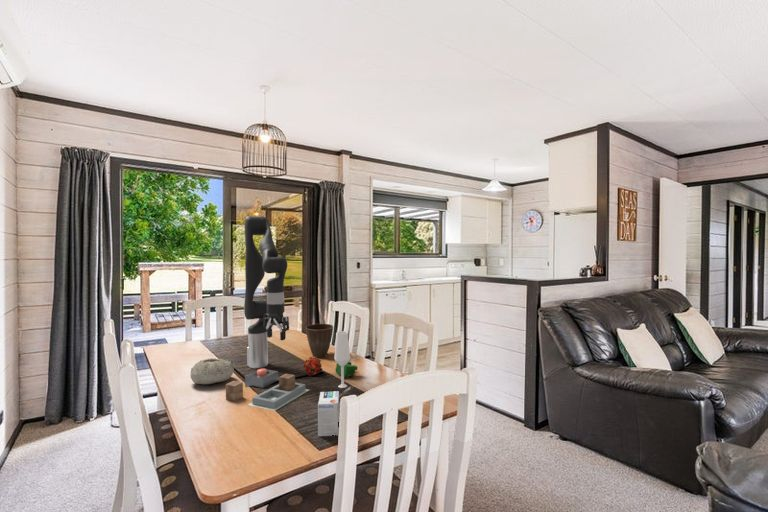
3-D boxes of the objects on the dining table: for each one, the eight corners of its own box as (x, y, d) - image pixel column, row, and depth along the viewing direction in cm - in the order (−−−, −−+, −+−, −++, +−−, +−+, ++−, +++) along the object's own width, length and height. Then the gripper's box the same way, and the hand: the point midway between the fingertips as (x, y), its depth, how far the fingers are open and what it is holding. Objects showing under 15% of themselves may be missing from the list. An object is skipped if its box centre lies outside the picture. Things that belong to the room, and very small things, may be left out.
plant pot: (339, 354, 219) (338, 325, 219) (321, 361, 207) (320, 330, 206) (318, 350, 227) (318, 322, 227) (300, 356, 215) (299, 327, 214)
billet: (279, 394, 160) (278, 377, 160) (286, 390, 164) (286, 373, 164) (288, 395, 158) (287, 378, 158) (295, 391, 163) (294, 375, 162)
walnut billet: (226, 401, 156) (225, 384, 155) (234, 397, 160) (234, 380, 159) (234, 403, 154) (234, 386, 153) (243, 399, 158) (242, 382, 158)
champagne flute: (338, 392, 164) (337, 335, 163) (332, 387, 170) (331, 331, 169) (353, 389, 167) (352, 333, 166) (347, 384, 173) (346, 330, 172)
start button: (255, 379, 173) (255, 370, 173) (261, 376, 176) (261, 368, 176) (262, 381, 171) (262, 371, 171) (268, 378, 175) (268, 369, 175)
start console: (245, 386, 171) (244, 375, 171) (261, 379, 180) (260, 368, 180) (263, 390, 167) (262, 378, 167) (278, 382, 176) (278, 371, 176)
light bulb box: (320, 421, 138) (319, 391, 137) (339, 420, 138) (339, 390, 138) (317, 437, 127) (317, 404, 127) (338, 435, 128) (338, 403, 127)
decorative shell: (224, 372, 190) (223, 352, 190) (240, 381, 178) (240, 359, 177) (184, 382, 178) (184, 360, 178) (199, 392, 165) (198, 369, 165)
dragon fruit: (314, 372, 194) (314, 384, 182) (299, 364, 192) (299, 375, 180) (324, 358, 193) (325, 370, 182) (310, 350, 191) (309, 361, 180)
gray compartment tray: (247, 407, 150) (247, 398, 150) (284, 387, 170) (284, 379, 170) (274, 413, 145) (274, 404, 145) (309, 392, 165) (309, 383, 165)
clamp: (352, 385, 184) (359, 369, 181) (341, 384, 181) (348, 368, 178) (345, 368, 194) (351, 353, 191) (334, 367, 191) (340, 352, 188)
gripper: (258, 302, 175) (258, 338, 176) (279, 304, 167) (280, 342, 168) (271, 299, 181) (272, 334, 182) (293, 302, 173) (293, 339, 174)
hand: (276, 338), depth 175 cm, fingers open, 8 cm apart
